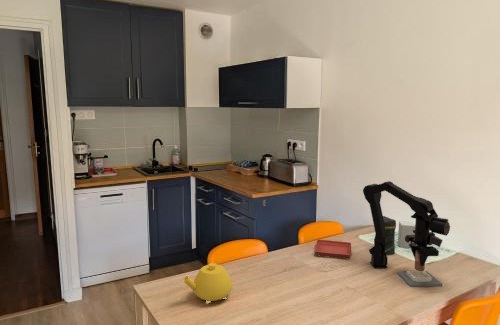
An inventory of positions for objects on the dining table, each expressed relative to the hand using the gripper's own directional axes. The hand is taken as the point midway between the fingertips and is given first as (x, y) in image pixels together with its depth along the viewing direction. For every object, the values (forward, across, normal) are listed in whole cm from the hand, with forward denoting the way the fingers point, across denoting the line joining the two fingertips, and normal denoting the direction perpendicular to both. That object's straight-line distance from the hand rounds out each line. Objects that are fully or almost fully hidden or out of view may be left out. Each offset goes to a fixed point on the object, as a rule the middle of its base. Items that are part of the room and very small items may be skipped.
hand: (419, 263), depth 167 cm
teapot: (+8, -12, +92) cm, 93 cm away
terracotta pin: (+2, 0, 0) cm, 3 cm away
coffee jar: (+8, +32, +2) cm, 33 cm away
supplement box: (+8, +40, -13) cm, 43 cm away
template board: (+7, 0, 0) cm, 7 cm away
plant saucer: (+8, +33, +29) cm, 45 cm away
